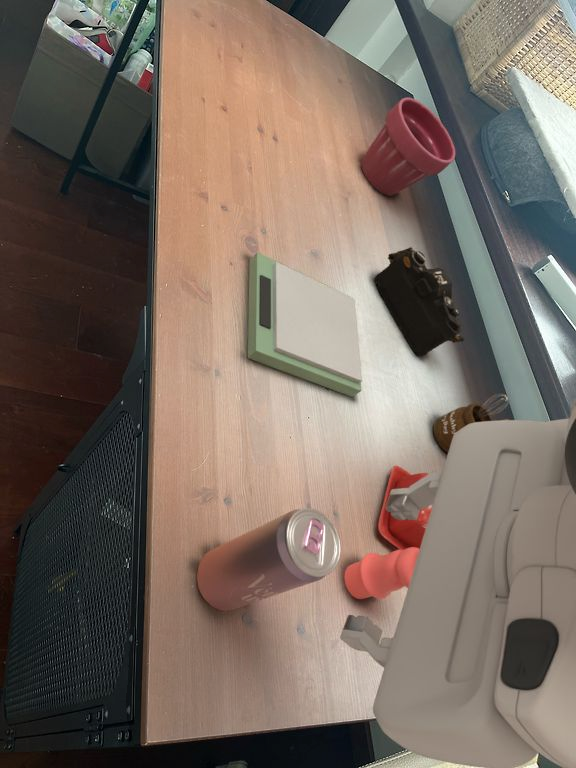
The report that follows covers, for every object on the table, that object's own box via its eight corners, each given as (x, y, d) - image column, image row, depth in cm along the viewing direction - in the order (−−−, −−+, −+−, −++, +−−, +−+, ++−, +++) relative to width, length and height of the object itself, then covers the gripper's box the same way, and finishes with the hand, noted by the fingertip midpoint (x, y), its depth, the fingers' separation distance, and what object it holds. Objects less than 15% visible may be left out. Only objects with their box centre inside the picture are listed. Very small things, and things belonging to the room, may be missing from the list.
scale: (247, 358, 76) (259, 347, 74) (249, 260, 84) (260, 248, 82) (352, 397, 84) (365, 388, 83) (344, 304, 93) (356, 295, 91)
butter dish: (387, 463, 83) (435, 440, 77) (446, 510, 86) (496, 492, 80) (368, 534, 75) (420, 514, 69) (434, 584, 78) (488, 569, 72)
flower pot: (393, 219, 113) (446, 172, 105) (340, 161, 111) (390, 109, 102) (413, 190, 123) (463, 146, 115) (365, 137, 121) (412, 88, 112)
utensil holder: (460, 431, 96) (525, 400, 88) (457, 464, 92) (525, 434, 84) (433, 411, 94) (497, 377, 86) (429, 443, 90) (496, 410, 82)
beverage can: (252, 564, 63) (348, 525, 53) (237, 621, 60) (336, 591, 49) (204, 539, 61) (294, 492, 51) (185, 596, 58) (277, 559, 47)
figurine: (358, 615, 69) (463, 588, 58) (332, 576, 69) (433, 542, 59) (380, 588, 72) (483, 559, 62) (356, 551, 73) (455, 515, 62)
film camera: (449, 334, 107) (496, 305, 101) (427, 368, 98) (476, 339, 92) (384, 255, 106) (427, 220, 99) (355, 282, 97) (400, 245, 90)
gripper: (581, 382, 36) (391, 416, 46) (521, 758, 25) (285, 696, 34) (622, 447, 39) (435, 466, 49) (586, 813, 27) (350, 742, 37)
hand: (372, 564), depth 41 cm, fingers open, 8 cm apart
